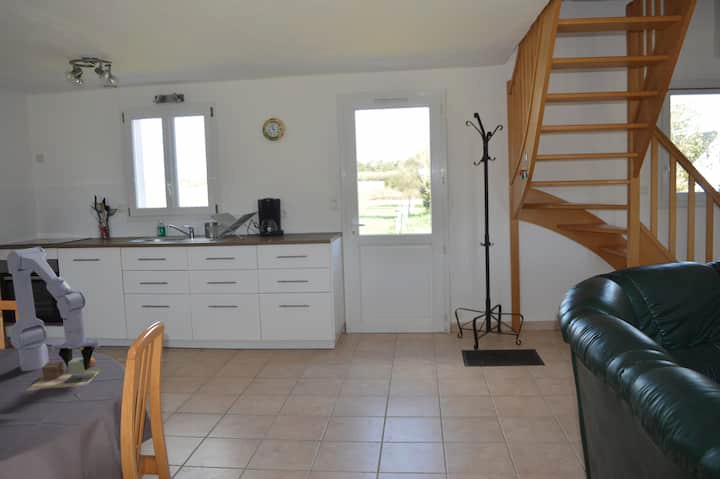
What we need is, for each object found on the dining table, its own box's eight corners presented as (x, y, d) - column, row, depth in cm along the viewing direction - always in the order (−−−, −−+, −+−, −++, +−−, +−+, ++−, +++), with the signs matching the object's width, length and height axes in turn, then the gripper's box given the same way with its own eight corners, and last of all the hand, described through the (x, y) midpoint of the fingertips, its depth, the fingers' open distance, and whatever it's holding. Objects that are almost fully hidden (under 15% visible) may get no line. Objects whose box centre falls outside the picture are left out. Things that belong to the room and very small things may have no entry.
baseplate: (47, 376, 183) (46, 373, 183) (102, 372, 185) (102, 368, 185) (26, 393, 169) (26, 389, 169) (86, 389, 171) (85, 385, 171)
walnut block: (49, 373, 182) (48, 362, 182) (63, 372, 183) (62, 361, 182) (43, 379, 178) (42, 367, 177) (57, 378, 178) (56, 366, 178)
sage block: (74, 369, 179) (73, 357, 178) (89, 368, 179) (87, 356, 179) (69, 374, 175) (67, 362, 174) (83, 373, 175) (82, 361, 174)
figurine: (95, 371, 187) (91, 337, 185) (76, 374, 184) (72, 340, 183) (96, 363, 194) (93, 331, 193) (78, 366, 192) (74, 334, 190)
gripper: (45, 334, 171) (50, 375, 172) (92, 331, 172) (97, 372, 174) (55, 328, 177) (60, 367, 179) (101, 325, 179) (105, 364, 181)
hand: (79, 369), depth 177 cm, fingers closed on sage block, 4 cm apart
